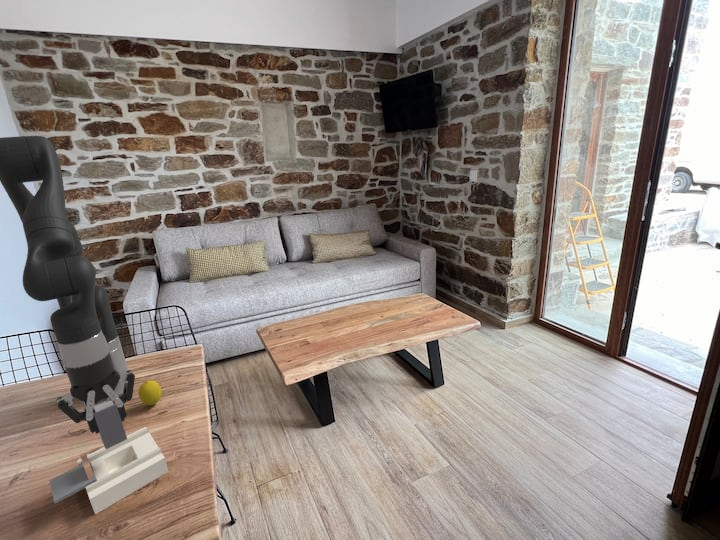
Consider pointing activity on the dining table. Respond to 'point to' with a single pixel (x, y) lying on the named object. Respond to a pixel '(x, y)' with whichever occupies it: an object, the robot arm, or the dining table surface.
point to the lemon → (150, 392)
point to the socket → (124, 468)
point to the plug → (109, 422)
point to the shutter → (73, 480)
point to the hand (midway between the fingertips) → (109, 425)
